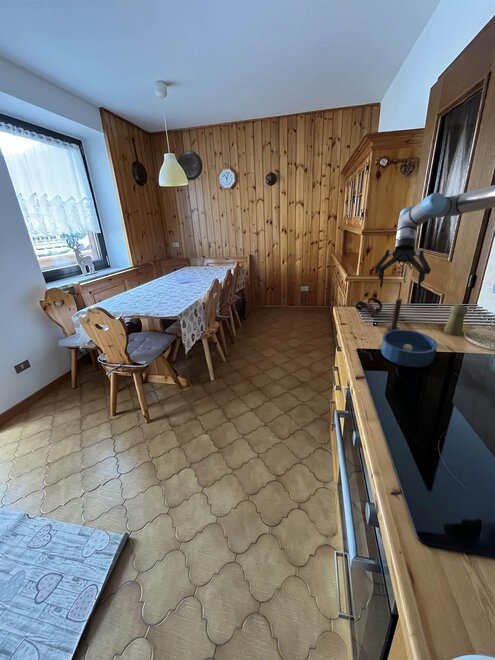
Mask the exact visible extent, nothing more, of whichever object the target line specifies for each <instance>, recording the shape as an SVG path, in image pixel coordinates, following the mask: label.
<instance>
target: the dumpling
mask: <svg viewBox="0 0 495 660" xmlns="http://www.w3.org/2000/svg"><path fill="white" fill-rule="evenodd" d="M403 350H406V351H412V346H411V345H409V344H405V345H404V346H403Z"/></svg>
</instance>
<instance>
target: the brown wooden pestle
mask: <svg viewBox="0 0 495 660" xmlns="http://www.w3.org/2000/svg"><path fill="white" fill-rule="evenodd" d="M402 303H403V299H402V298H396V299H395V304H394V308H393V313H392V318H391V325H387V327H386V332H388V331H392V330H401V329H400V326H398V321H399V317H400V312H401V306H402Z"/></svg>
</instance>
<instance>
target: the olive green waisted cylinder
mask: <svg viewBox="0 0 495 660" xmlns="http://www.w3.org/2000/svg"><path fill="white" fill-rule="evenodd" d="M467 313H468V308H467V306H465V305H462V304H454V305H452V306H451V308H450V315H449V317H448V319H447V321H446V323H445V326H444V327H443V332H444V333H446V334H448V335H452V336H460V335H462V333H463V327H464V319H465V316H466V314H467Z"/></svg>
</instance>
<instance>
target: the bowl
mask: <svg viewBox="0 0 495 660" xmlns="http://www.w3.org/2000/svg"><path fill="white" fill-rule="evenodd" d="M381 339H382V340H381V344H380V353H381V355H382V356H383V357H384V358H385V359H386V360H388V361H390V362H392V363H394V364H395V365H400V366H404V367H409V368H424V367H428V366H430V365H431V364H433V362H434V360H435V356H436V353H437V349H438V345H439V344H438V342H437V341H436V340H435V339H434V338H433V337H431V336H429V335H427V334H426V333H422V332H419V331H415V330H410V329H400V330H392V331H388V332H387V331H386V332H384V334H383V335H382V338H381ZM405 344H409V345H411V346H412V351H406V350H403V346H404V345H405Z"/></svg>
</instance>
